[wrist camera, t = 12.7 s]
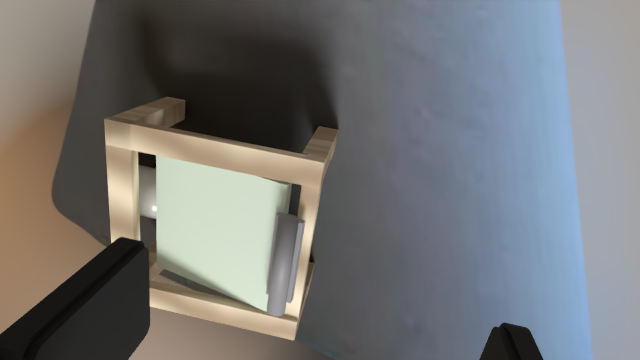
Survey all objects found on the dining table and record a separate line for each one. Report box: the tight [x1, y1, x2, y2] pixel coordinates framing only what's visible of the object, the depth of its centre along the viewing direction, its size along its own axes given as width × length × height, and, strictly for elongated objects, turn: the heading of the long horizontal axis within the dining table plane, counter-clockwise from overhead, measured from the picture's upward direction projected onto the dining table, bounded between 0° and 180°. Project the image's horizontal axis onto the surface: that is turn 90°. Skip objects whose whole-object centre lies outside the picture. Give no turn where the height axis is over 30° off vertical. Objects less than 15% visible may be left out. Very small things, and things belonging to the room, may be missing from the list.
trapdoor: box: [156, 155, 306, 316], centre depth 35 cm, size 13×15×3 cm
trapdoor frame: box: [104, 97, 338, 340], centre depth 40 cm, size 18×18×10 cm
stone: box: [138, 165, 156, 219], centre depth 43 cm, size 5×5×5 cm
